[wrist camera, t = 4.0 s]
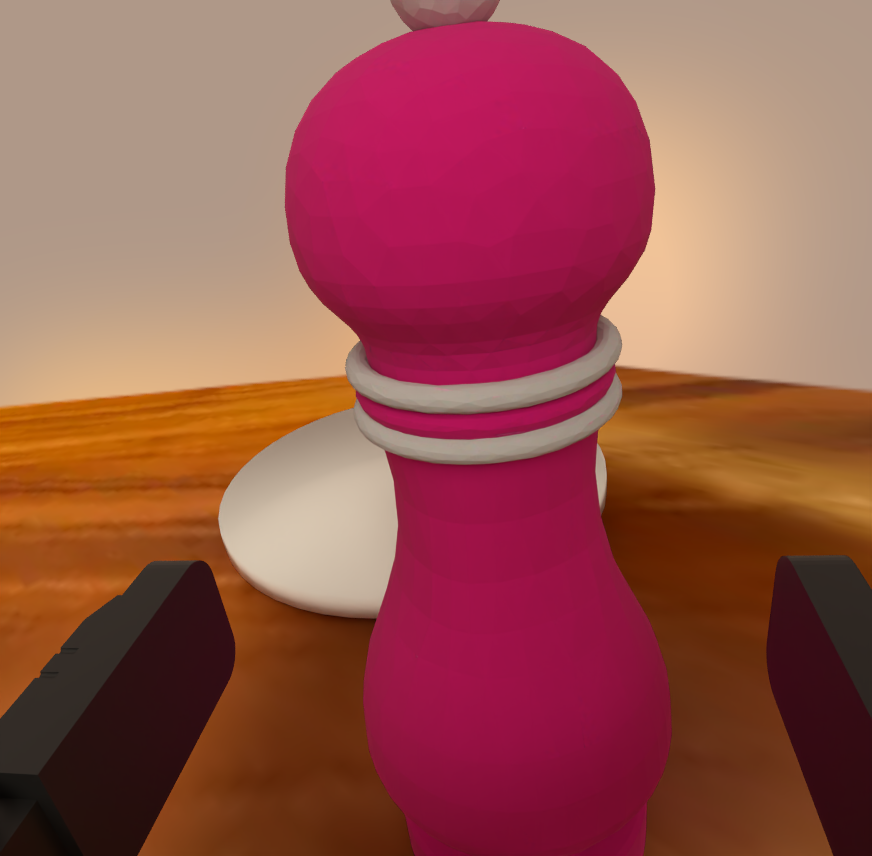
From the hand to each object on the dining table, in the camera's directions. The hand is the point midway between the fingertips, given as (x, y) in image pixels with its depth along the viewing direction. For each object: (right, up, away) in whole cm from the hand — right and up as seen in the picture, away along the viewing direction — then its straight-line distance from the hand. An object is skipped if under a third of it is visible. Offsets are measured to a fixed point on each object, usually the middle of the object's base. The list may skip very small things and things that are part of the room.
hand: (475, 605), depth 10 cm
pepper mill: (+2, -8, +9) cm, 12 cm away
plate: (-2, -1, +23) cm, 23 cm away
